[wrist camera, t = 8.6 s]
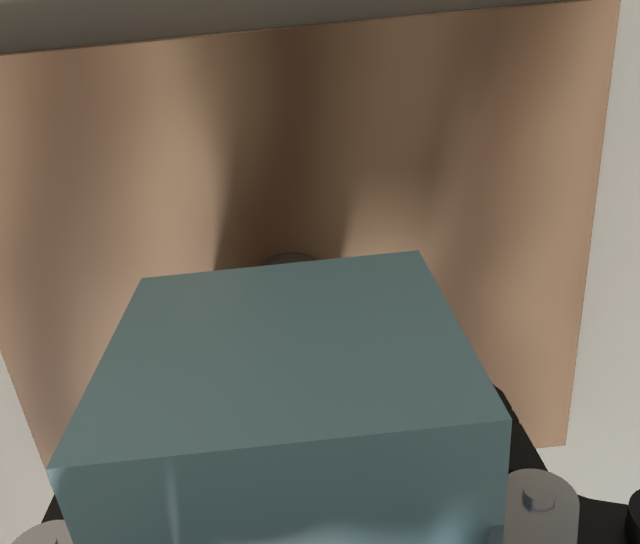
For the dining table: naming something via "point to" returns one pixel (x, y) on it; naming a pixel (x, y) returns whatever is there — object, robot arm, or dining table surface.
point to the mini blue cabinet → (287, 413)
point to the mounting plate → (309, 180)
